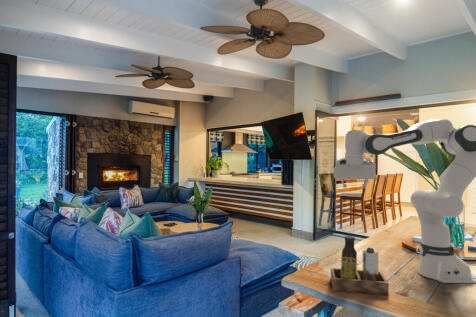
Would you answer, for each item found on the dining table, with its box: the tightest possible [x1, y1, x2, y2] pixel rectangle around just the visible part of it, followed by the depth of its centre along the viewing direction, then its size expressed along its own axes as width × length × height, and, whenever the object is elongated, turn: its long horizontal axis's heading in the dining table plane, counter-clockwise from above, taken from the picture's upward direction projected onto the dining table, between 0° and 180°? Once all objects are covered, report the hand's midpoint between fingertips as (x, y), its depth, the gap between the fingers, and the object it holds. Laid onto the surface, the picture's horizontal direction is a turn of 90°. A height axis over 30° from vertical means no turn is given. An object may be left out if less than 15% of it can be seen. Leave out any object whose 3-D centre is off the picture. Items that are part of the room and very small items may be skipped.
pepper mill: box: [362, 246, 379, 281], centre depth 124 cm, size 6×6×16 cm
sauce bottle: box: [340, 235, 358, 279], centre depth 127 cm, size 7×6×20 cm
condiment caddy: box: [330, 267, 390, 296], centre depth 125 cm, size 21×12×5 cm, turn 77°
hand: (354, 187), depth 153 cm, fingers open, 8 cm apart
